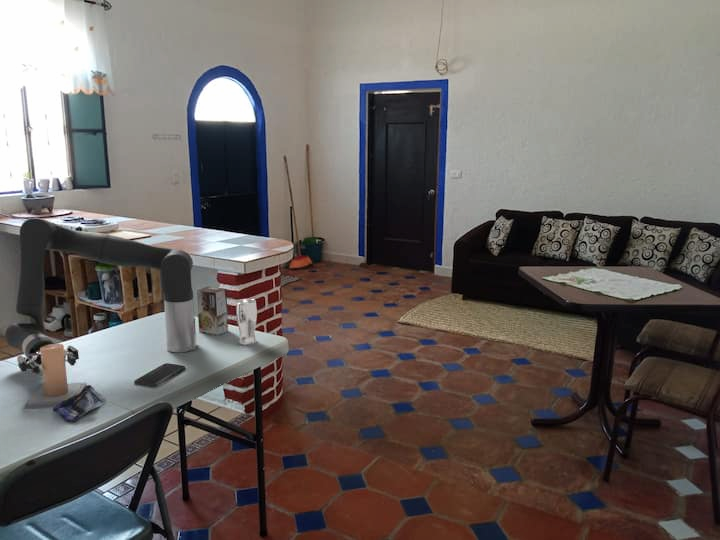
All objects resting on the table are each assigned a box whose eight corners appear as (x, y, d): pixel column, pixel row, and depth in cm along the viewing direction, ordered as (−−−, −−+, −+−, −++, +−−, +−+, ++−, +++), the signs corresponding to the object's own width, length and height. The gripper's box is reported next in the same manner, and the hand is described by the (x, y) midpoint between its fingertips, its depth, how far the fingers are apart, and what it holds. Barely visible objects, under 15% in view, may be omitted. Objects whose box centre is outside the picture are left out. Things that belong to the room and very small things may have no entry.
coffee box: (229, 330, 205) (227, 288, 202) (217, 335, 199) (216, 292, 196) (209, 327, 209) (207, 285, 205) (198, 331, 203) (196, 289, 200)
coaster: (86, 385, 156) (86, 381, 156) (75, 404, 145) (74, 400, 145) (40, 389, 154) (39, 385, 154) (24, 408, 142) (24, 404, 142)
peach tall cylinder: (68, 386, 153) (63, 342, 150) (68, 394, 148) (63, 349, 145) (45, 390, 150) (40, 345, 148) (44, 398, 146) (39, 352, 143)
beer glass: (259, 339, 197) (258, 298, 193) (254, 346, 190) (253, 304, 186) (240, 338, 197) (239, 297, 194) (234, 345, 190) (233, 303, 187)
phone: (187, 366, 170) (155, 385, 156) (187, 369, 170) (155, 389, 156) (165, 362, 172) (132, 381, 158) (165, 366, 172) (132, 385, 158)
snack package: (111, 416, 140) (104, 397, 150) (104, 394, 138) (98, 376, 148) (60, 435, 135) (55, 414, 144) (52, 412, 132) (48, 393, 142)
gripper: (9, 342, 152) (23, 359, 140) (65, 331, 161) (83, 346, 150) (12, 367, 154) (26, 386, 142) (68, 355, 163) (85, 372, 151)
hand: (55, 365), depth 146 cm, fingers open, 8 cm apart
